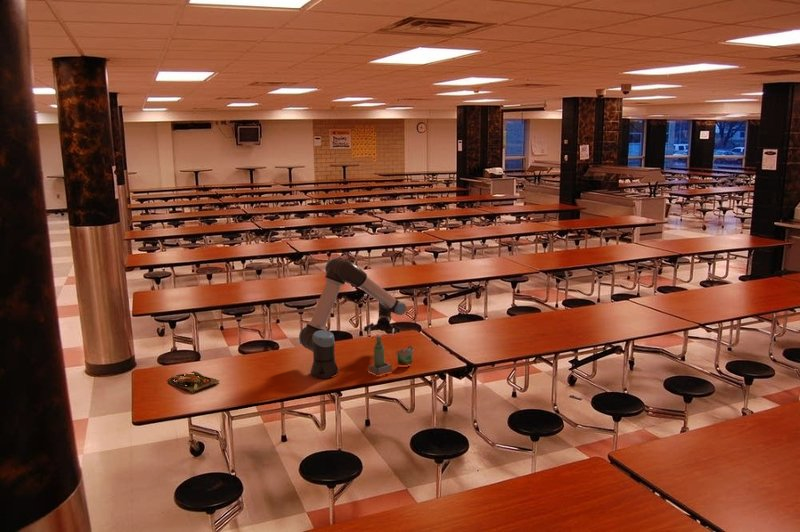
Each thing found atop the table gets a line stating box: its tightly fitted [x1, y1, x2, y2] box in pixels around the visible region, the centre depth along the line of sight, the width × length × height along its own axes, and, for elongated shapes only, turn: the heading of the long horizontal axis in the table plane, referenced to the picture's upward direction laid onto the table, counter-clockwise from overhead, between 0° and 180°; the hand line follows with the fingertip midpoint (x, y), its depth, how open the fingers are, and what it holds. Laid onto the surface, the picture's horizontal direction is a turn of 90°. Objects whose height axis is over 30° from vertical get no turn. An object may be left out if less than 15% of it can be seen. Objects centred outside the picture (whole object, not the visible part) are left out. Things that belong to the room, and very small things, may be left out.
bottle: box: [373, 333, 385, 368], centre depth 339 cm, size 6×6×21 cm
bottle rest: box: [368, 361, 393, 375], centre depth 341 cm, size 10×10×5 cm
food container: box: [396, 345, 415, 366], centre depth 351 cm, size 12×6×10 cm, turn 143°
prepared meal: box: [166, 370, 220, 395], centre depth 327 cm, size 28×4×18 cm
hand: (380, 333), depth 343 cm, fingers open, 13 cm apart
